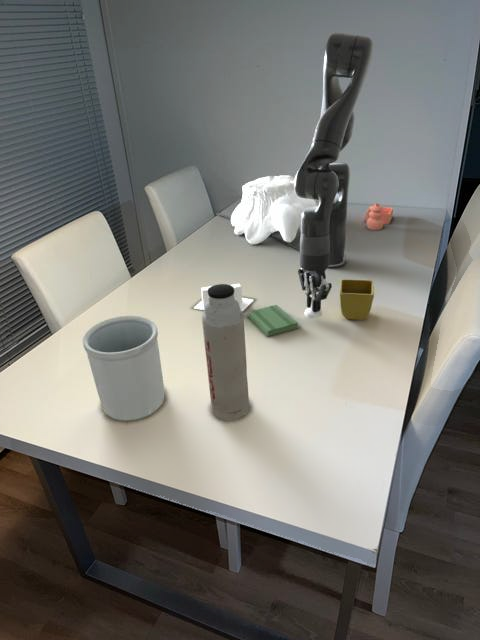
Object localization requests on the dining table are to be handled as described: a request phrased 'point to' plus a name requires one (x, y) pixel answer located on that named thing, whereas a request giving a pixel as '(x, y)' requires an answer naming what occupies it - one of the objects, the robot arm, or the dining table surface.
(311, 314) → the chess piece
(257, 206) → the tree stump
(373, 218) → the pottery
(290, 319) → the green flat rectangular block
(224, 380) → the thermos bottle
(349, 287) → the flower pot
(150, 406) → the utensil holder
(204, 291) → the napkin holder
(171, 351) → the dining table surface
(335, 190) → the robot arm
